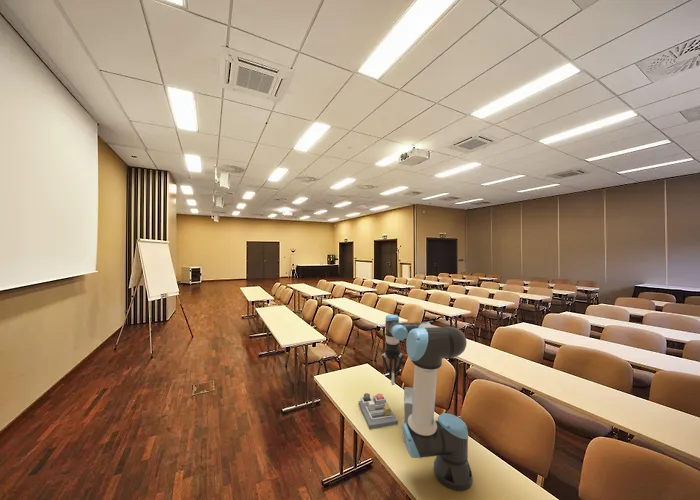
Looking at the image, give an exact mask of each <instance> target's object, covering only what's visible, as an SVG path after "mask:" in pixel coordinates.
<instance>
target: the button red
mask: <svg viewBox="0 0 700 500" xmlns="http://www.w3.org/2000/svg"><path fill="white" fill-rule="evenodd" d="M382 394H383V393H377V394H376V395H377V400H380V399H383V395H384V394H383V395H382Z"/></svg>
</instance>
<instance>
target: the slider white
mask: <svg viewBox="0 0 700 500" xmlns="http://www.w3.org/2000/svg"><path fill="white" fill-rule="evenodd" d="M368 409H369V411H370V412H371V411H375V403H374V401H369V402H368Z"/></svg>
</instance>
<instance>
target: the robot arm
mask: <svg viewBox="0 0 700 500" xmlns="http://www.w3.org/2000/svg"><path fill="white" fill-rule="evenodd" d="M384 321H385V351H384V353H381V354H380V355H381V356H380V357H381V358H382V360H383V363H384V367H385V372H387V373H388V377H389V379H390V384H391V386H395V379H397V373H399V372H401V371H400V370H401V366H402V364H403V363H402V362H403V359H404V357H405V356H404V354H403V353H401V351H400V343H399V342H400V341H404V340H405V339H406V343H405V347H406V353H407V357H408V359H409V360H410V361H411V364H412V365H414V367H413V368H414V369H413V370H414V371H413V384H412V385H413V387H412V388H413V403H412V414H411V415H410V416H409V417H408V424H406V423H405V424H404V423H403V424H402V427H401V430H402V437H403V443H404V442H405V443H404V445H405V448H406V451H407V453H408V455H409V457H411V458H412V459H423V458H430V457H435V459H434V461H433V474H434V477H435V478H436V479H437V480H438V482H440V483H441V485H442V486H445V487H446V488H448V489H451V490H453V491H466V490H468V489H469V488H470V487H471V486H472V483H473V471H472V469H471V466H470V465H471V464H470V462H469V459H468V457H469V455H468V454H469V453H468V451H469V446H468V443H469V433H468V430H469V429H468V426H467V424H466V423H465V422H464V421H463V419H461V418H460V417H458V416H456V415H454V414H452V413H445V412H443V413H440V414H439V415H438V417H437V420H435V417H434V416H435V405H436V389H437V380H438V379H437V378H438V377H437V376H438V370H439V369H441V368H442V363H443V360H444V359H453V358H457V357H458V356H460V355H462V354H463V353H464V352H465V349H466V348H467V338H466V336H465V333H464V332H463V331H462V330H461V329H459V328H457V327H453V326H438V325H433V324H431V323H430V322H428V321H420V322H401V323H400V317H399V315H398V314H387V315H386V316H385V320H384ZM386 357H387V358H388V363H387V359H386ZM397 359H398V361H397ZM392 363H393V364H392ZM392 365H393V366H392ZM392 369H393V370H392Z"/></svg>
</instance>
